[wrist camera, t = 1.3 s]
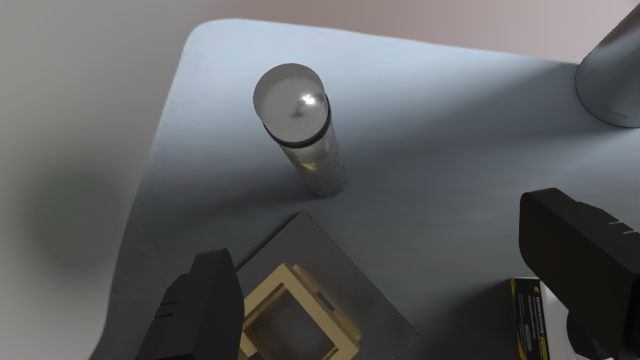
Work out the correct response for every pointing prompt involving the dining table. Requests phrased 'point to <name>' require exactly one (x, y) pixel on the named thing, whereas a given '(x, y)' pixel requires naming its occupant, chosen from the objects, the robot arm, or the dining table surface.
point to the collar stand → (315, 303)
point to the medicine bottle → (549, 326)
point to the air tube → (302, 125)
